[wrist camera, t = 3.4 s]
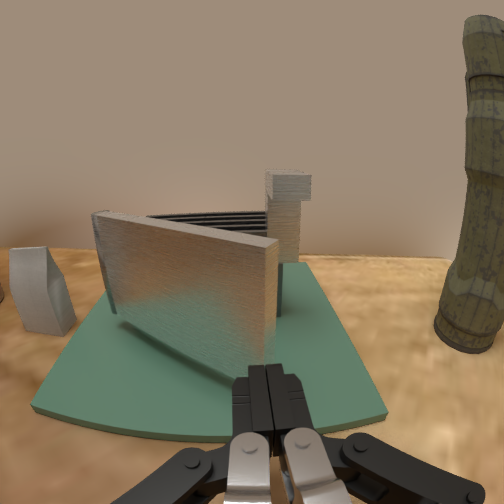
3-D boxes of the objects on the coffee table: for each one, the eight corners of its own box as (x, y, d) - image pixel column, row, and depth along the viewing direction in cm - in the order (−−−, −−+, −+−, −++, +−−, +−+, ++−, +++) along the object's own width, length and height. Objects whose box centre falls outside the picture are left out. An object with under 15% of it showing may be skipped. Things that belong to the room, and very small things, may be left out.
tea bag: (63, 337, 25) (36, 253, 21) (26, 330, 25) (-1, 255, 21) (77, 319, 28) (55, 241, 25) (39, 315, 28) (18, 243, 25)
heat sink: (35, 411, 15) (-46, 232, 9) (125, 273, 41) (111, 173, 35) (384, 420, 16) (455, 209, 11) (305, 268, 42) (310, 163, 37)
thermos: (462, 371, 19) (493, -8, 6) (416, 309, 30) (431, 23, 17) (511, 353, 19) (544, 34, 6) (463, 303, 30) (482, 47, 17)
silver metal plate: (108, 310, 26) (87, 214, 22) (121, 303, 27) (103, 209, 23) (261, 392, 17) (263, 249, 13) (274, 376, 18) (280, 238, 15)
